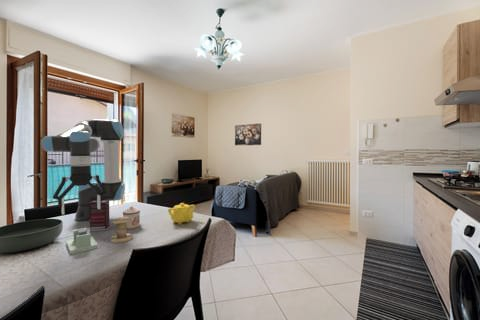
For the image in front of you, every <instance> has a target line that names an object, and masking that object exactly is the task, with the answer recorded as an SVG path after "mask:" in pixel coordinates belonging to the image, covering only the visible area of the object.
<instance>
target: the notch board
mask: <svg viewBox="0 0 480 320" xmlns="http://www.w3.org/2000/svg"><path fill="white" fill-rule="evenodd" d="M84 228H85V229H86V230H87V231H88V229H87V227H84ZM77 229H78V228H77ZM77 229H73V230H72V231H73V232H72V233H73V239H70V240H66V246H67V248H68V249H67V250H68V252H69V254H70V255H74V254H77V253H81V252H85V251H88V250H89V251H90V250H93V249H98V248H99V244H98V243H97V241H96V240H95V237H94V236H92V234H91V232H87V234H82V235H77Z"/></svg>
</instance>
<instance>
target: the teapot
mask: <svg viewBox="0 0 480 320" xmlns="http://www.w3.org/2000/svg"><path fill="white" fill-rule="evenodd" d="M195 208H196V205H195V204H186V203H185V202H181V203H179V204H176V205H174V206H173V207H169V208H168V209H167V212H168V214H169V216H170V219H171V221H173V222H174V223H177V225H180V226H181V225H183V223H186V224H187V223H189V224H190V223H191V221H192V219H193V218H194V210H195Z"/></svg>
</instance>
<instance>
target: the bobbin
mask: <svg viewBox="0 0 480 320" xmlns="http://www.w3.org/2000/svg"><path fill="white" fill-rule="evenodd" d="M111 221H112V223H113V224H114V225H115V224H116V234H115V235H113V236H111V237H110V238H109V241H110V243H112V244H113V243H115V244H118V243H119V244H120V243H125V242H128V241H131V240H132V239H133V238H134V237H133V234H132V233H129V232H128V233H127V231H128V230H127V229H128V228H127V222H129V221H130V217H123V216H120V217H115V218H113V219H112V220H111Z"/></svg>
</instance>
